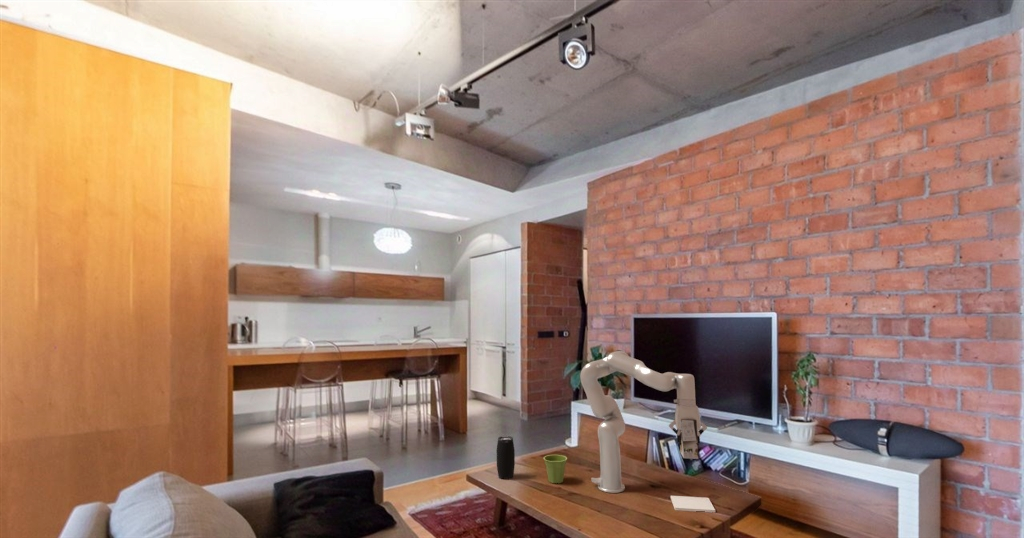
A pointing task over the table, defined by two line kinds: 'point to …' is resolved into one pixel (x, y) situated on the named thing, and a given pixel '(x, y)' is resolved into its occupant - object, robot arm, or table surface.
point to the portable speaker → (505, 457)
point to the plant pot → (555, 467)
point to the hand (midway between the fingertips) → (688, 444)
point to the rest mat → (692, 504)
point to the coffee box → (689, 439)
